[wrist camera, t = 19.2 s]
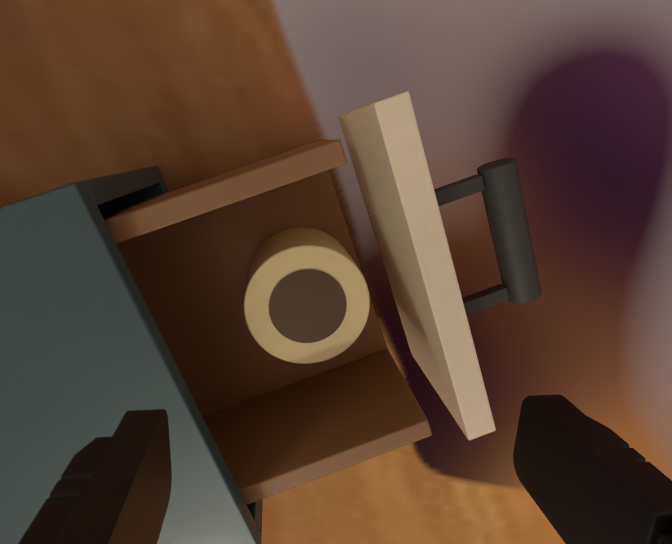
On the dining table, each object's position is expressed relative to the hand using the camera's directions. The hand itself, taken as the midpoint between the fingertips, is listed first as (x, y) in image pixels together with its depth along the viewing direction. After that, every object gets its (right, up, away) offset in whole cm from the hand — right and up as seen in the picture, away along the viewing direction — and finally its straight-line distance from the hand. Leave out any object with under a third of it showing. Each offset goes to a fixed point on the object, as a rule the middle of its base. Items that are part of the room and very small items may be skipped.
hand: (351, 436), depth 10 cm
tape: (-2, +3, +12) cm, 13 cm away
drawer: (-2, +4, +13) cm, 14 cm away
